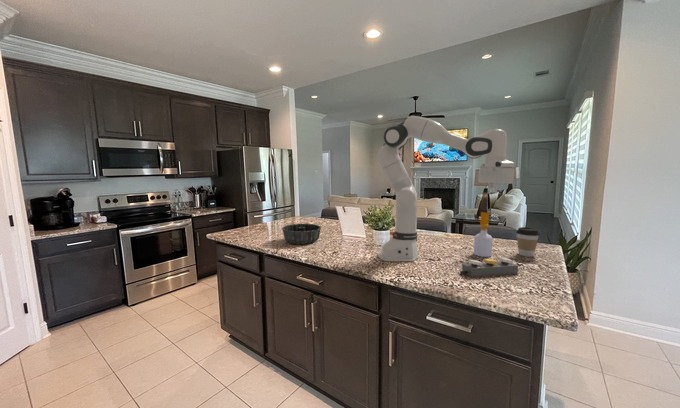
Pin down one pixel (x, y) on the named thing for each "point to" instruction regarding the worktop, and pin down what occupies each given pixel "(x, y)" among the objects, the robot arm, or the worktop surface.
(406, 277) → the worktop surface
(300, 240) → the bundt pan
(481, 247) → the soap bottle
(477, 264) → the block
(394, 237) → the robot arm
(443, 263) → the worktop surface
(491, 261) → the block
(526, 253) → the coffee cup
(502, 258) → the plate
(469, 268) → the power strip
